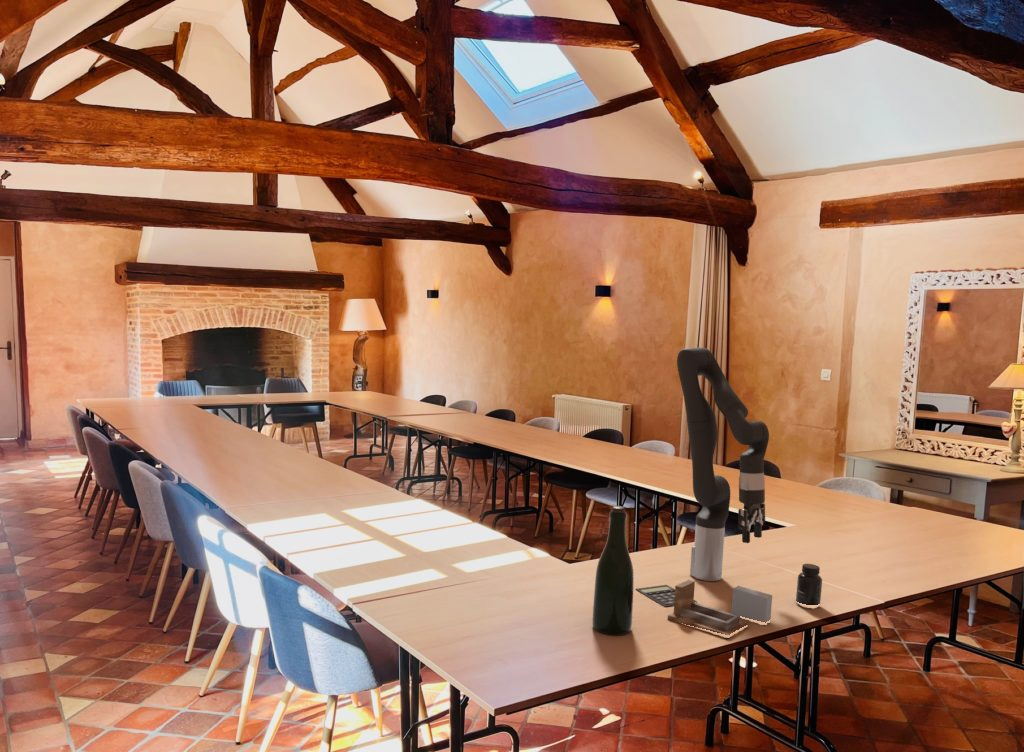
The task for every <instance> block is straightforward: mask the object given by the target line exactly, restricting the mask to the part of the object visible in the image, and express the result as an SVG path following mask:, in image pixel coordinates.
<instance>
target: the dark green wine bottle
mask: <svg viewBox="0 0 1024 752" xmlns="http://www.w3.org/2000/svg"><path fill="white" fill-rule="evenodd" d="M626 521H627V512H626V508H625V507H624V506H621V505H613V506H612V507H611V510H610V512H609V525H608V526H609V527H608V535H607V539H606V543H605V546H604V547H603V550H602V552H601V554H600V557H599V559H598V563H597V565H596V571H595V580H594V591H593V592H594V593H593V604H592V605H593V607H592V617H591V618H592V619H591V620H592V627H593V628H594V630H595V631H597V632H599V633H602V634H605V635H611V636H622V635H626V634H628V633H629V632H630V631H631V629H632V625H633V610H634V609H633V608H634V581H635V580H634V579H635V577H634V566H633V562H632V559H631V556H630V552H629V549H628V545H627V539H626V538H627V537H626V523H627V522H626Z"/></svg>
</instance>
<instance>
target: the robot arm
mask: <svg viewBox="0 0 1024 752" xmlns="http://www.w3.org/2000/svg"><path fill="white" fill-rule="evenodd" d="M676 366H677V368H676V369H677V371H678V377H679V382H680V385H681V389H682V394H683V395H682V396H683V401H684V402H683V403H684V407H685V415H686V425H687V432H688V439H689V446H690V453H691V462H692V463H691V464H692V465H691V466H692V491H693V495H694V498H695V501H696V502H697V503H698V504H699V505H700V506H702V508H701V510H700V511H699V512H698V513H697V514H696V515H695V528H694V529H695V532H694V545H692V546H691V549H690V550H691V552H690V568H689V569H690V570H689V576H692V577H693V578H695V579H697V580H700V581H706V582H719V581H721V580H722V574H723V561H724V547H725V546H724V544H725V531H726V530H725V529H726V528H725V527H726V522H727V519H728V516H729V513H730V503H731V486H730V484H729V482H728V480H727V479H726V478H725V477H723V476H722V475H719V474H718V475H716V474H715V470H714V455H715V450H716V447H717V442H718V436H719V435H718V425H717V417H716V414H715V410H713V408H712V405H711V404H710V403H709V401H708V400H707V398H706V397H705V396H704V394H703V391H702V388H701V387H700V381H699V376H700V377H701V376H702V377H704V378H705V379H706V381H708V382H709V384H710V385H711V388H712V393H713V394H712V395H713V400H714V403H715V405H716V407H717V409H718V410H719V411H720V413H721V414H722V416H723V417H724V418H725V420H726V421H727V423H728V426H729V428H730V430H731V434H732V436H733V438H734V440H735V441H736V442H737V443H739V444H741V445H743V446H747V447H748V448H747V450H745V451H744V452H743V453H740V456H739V475H738V476H739V477H738V501H739V502H740V503H741V504H742V505H743V508H739V509H738V513H737V515H738V517H737V518H738V519H737V521H738V522H737V528H738V529H739V530H741V541H742V543H745V544H749V543H750V542H751V526H752V525H753V536H754V538H757V539H758V538H762V537H763V529H762V527H763V525H764V523H765V522H766V503H765V501H766V490H765V489H766V482H765V481H766V480H765V468H764V467H765V456H766V452H767V448H768V445H769V441H770V440H769V439H770V431H769V428H768V426H767V424H766V423H765V422H763V421H761V420H751V421H747V420H746V418H747V417H748V415H749V409H748V408H747V406H746V405H745V403H744V402H743V401H742V400H741V398H740V397H739V396H738V395H737V393H736V392H735V391H734V389H733V388H732V386H731V385H730V383H729V382H728V380H727V377H726V376H725V374H724V372H723V370H722V368H721V367H720V365H719V362H718V361H717V359H716V357H715V355H714V354H713V353H712V351H711V350H710V349H708V348H706V347H685V348H682V349H681V350H680V351H679V352H678V355H677V357H676ZM718 580H719V581H718Z"/></svg>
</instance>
